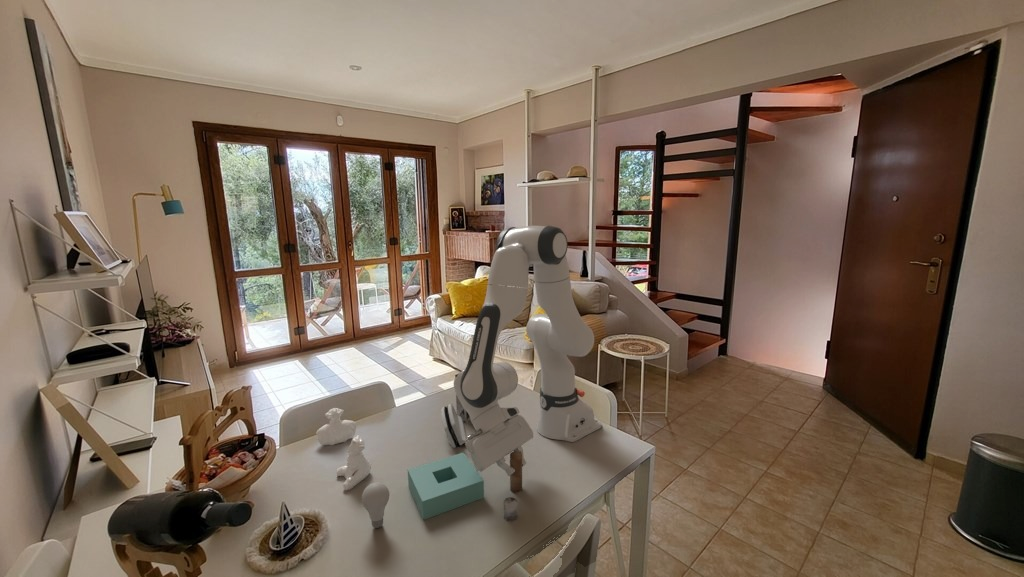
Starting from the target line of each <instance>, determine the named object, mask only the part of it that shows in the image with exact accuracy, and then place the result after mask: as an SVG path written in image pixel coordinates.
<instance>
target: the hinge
mask: <svg viewBox="0 0 1024 577" xmlns="http://www.w3.org/2000/svg"><path fill="white" fill-rule="evenodd" d="M440 414H441V422H442V426H443V429H444V432H445V434H446V437H447V439H448V441H449V443H450V446H451V448H452V449H455V448H457V445H459V446H462V445H463V444H465V441H466V439H467V434H466V433H467V432H466V428H465V421H464V420H463V419H462V417H461V416H457V411H456V409H455V408H454V405H453V403H450V404H447V406H443V407H442V408H441V410H440Z"/></svg>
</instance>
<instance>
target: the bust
mask: <svg viewBox="0 0 1024 577" xmlns="http://www.w3.org/2000/svg"><path fill="white" fill-rule="evenodd" d="M344 412H345V410H344V409H341V408H338V407H333V408H330V409H329V410H328V411H327V412H326V413H324V416H325V417H326V418H327V420H329V419H330V420H329V421H328V422H329V423H326V424H324V425H322V426H321V427H320V428H318V429H317V431H316V433H315V435H316V439H317V440H318V443H319V444H320V445H321V446H335V445H337V444H341V443H345V442H347V441H348V440H350V439H353V437H355V434H356V430H357V423H356V422H355V421H354V420H349V419H344V420H342V419H341V417H342V415H344Z"/></svg>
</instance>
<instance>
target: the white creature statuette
mask: <svg viewBox="0 0 1024 577" xmlns="http://www.w3.org/2000/svg"><path fill="white" fill-rule="evenodd" d="M365 447H366V446H365V440H364V439H363V438H362V437H361V436H360V435H359V434H358V435H356V436H353V437H352V438H351V442H350V444H349V445H348V448H347V453H348V456H347V459H346V461H347V465H342V466H340V467H338V468H337V469H336V477H339V476H340V477H344V478H345V481H344V482H343V484H342V488H343V490H344V491H345V492H347V491H349V490H352V489H353V488H354V487H355V486H356V485H358V484H359V483H360V482H362V481H363V480H364V479H366V478H367V477H368V476H369V475H370V472H371V470H372V464H371V462H370V461H369V459H367V458H366V456H365V454H364V452H363V450H365Z"/></svg>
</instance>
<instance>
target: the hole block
mask: <svg viewBox="0 0 1024 577" xmlns="http://www.w3.org/2000/svg"><path fill="white" fill-rule="evenodd" d="M407 481H408V488H409V490H410V492H411V495H412V497H413V499H414V501H415V505H416V506H417V509H418V511H419V513H420V516H421V518H422V520H424V521H425V520H426V519H429V518H432V517H436V516H438V515H441V514H443V513H445V512H449V511H451V510H454V509H457V508H459V507H462V506H465V505H467V504H471V503H473V502H476V501H479V500H482V499H484V498H485V488H484V487H485V486H484V485H485V484H484V479H483V478H482V475H481V474H480V473H479V472H478V470H477V469H476V467H475V465H474V464H473V463H472V462H471V461H470V459H469V458H468V456H466V454H465V453H464V452H461V453H457V454H454V455H451V456H448V457H444V458H441V459H437V460H434V461H431V462H427V463H424V464H421V465H417V466H414V467H411V468H408V469H407Z"/></svg>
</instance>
